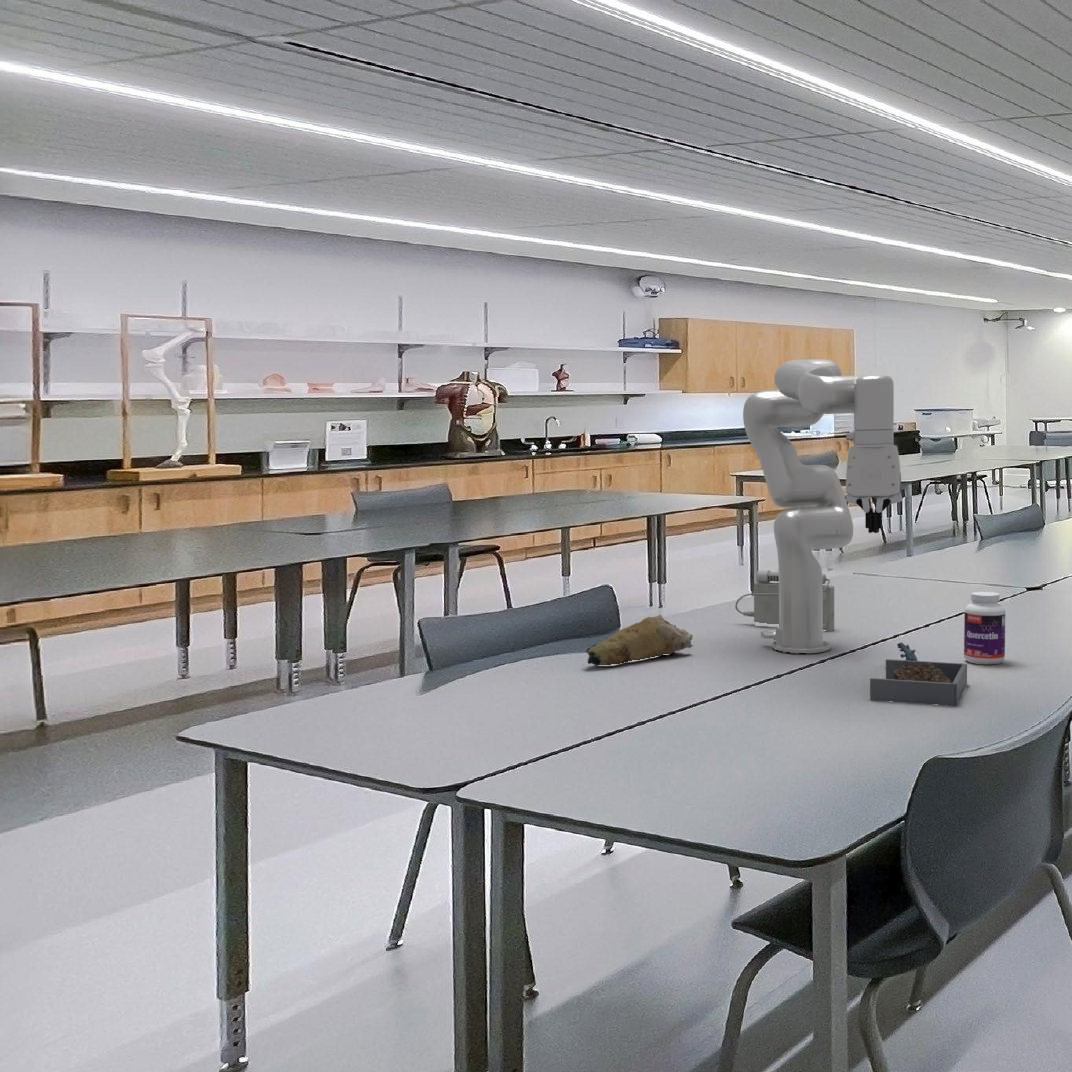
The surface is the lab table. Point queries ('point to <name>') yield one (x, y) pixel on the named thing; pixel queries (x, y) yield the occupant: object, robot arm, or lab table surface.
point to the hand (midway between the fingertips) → (873, 532)
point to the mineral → (640, 642)
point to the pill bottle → (984, 629)
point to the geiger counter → (769, 600)
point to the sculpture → (907, 652)
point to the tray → (920, 685)
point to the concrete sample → (920, 673)
